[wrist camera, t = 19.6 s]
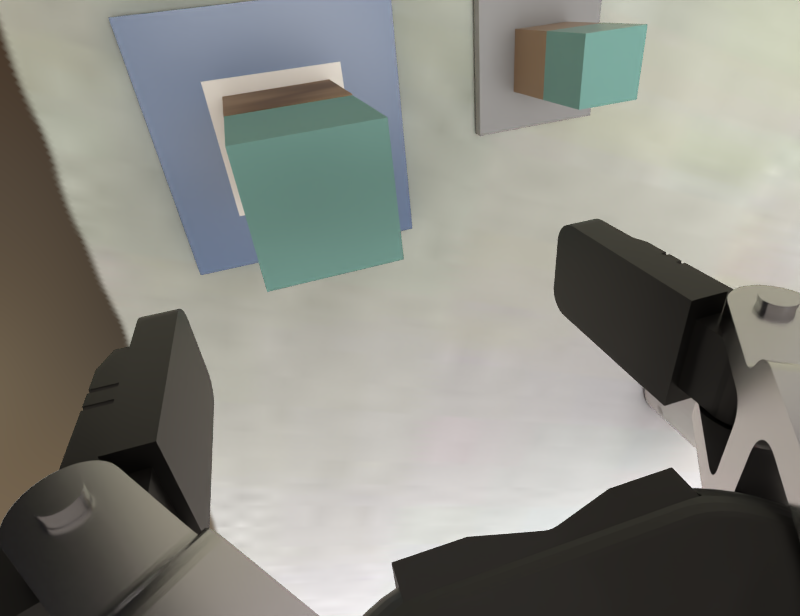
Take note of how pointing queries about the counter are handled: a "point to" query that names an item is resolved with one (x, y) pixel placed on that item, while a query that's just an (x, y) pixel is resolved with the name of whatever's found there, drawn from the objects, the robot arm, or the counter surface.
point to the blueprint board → (241, 73)
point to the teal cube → (316, 188)
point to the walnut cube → (282, 97)
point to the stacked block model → (550, 62)
